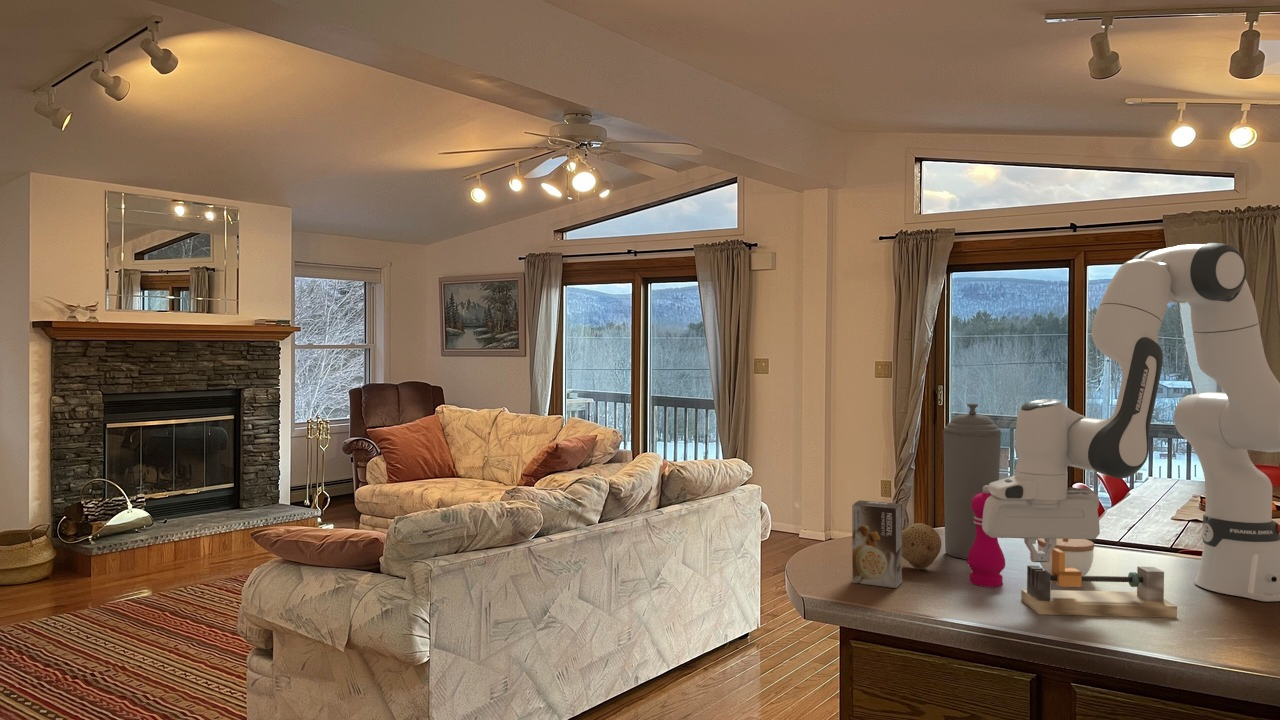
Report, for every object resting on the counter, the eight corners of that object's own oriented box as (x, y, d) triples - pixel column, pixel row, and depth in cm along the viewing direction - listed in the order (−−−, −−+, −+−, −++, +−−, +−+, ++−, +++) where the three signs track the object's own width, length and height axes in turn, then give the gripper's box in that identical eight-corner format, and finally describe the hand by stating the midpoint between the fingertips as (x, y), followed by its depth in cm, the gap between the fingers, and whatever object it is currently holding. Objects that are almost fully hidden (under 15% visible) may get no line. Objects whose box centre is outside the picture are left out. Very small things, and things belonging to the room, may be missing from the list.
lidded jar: (1053, 568, 195) (1054, 525, 195) (1103, 579, 186) (1104, 534, 186) (1026, 575, 189) (1027, 531, 188) (1076, 587, 180) (1077, 540, 180)
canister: (929, 551, 210) (931, 401, 210) (975, 547, 214) (977, 401, 213) (964, 564, 198) (966, 405, 197) (1012, 560, 202) (1014, 404, 201)
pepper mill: (1008, 589, 178) (1009, 488, 178) (969, 586, 180) (971, 487, 179) (1001, 579, 185) (1002, 483, 185) (964, 577, 187) (965, 481, 186)
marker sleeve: (1073, 581, 167) (1074, 548, 167) (1081, 586, 164) (1081, 553, 164) (1051, 581, 168) (1052, 548, 168) (1058, 586, 164) (1059, 552, 164)
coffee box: (903, 581, 184) (904, 503, 183) (896, 589, 178) (897, 508, 178) (858, 575, 188) (859, 499, 188) (850, 583, 182) (851, 504, 182)
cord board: (1151, 602, 169) (1152, 563, 169) (1177, 617, 160) (1177, 575, 160) (1021, 599, 171) (1021, 560, 171) (1039, 614, 162) (1039, 572, 162)
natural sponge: (936, 577, 187) (936, 529, 187) (892, 571, 191) (893, 525, 191) (944, 567, 195) (944, 521, 195) (902, 562, 199) (903, 517, 199)
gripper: (1091, 485, 168) (1090, 558, 169) (979, 484, 170) (979, 556, 170) (1106, 490, 162) (1105, 567, 162) (990, 489, 163) (989, 565, 164)
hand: (1040, 561), depth 166 cm, fingers closed
